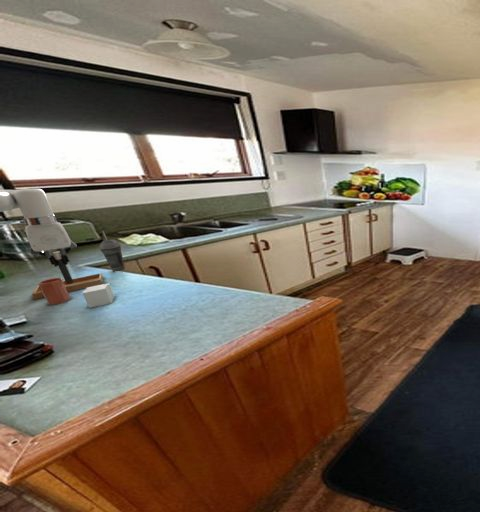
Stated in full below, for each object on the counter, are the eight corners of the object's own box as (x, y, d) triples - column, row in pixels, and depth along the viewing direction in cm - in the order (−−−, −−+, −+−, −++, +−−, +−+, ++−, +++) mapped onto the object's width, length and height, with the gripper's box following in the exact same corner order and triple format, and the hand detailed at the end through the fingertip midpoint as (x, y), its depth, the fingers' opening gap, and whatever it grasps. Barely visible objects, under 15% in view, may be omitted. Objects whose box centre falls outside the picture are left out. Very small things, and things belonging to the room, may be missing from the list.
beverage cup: (114, 273, 130) (98, 233, 123) (105, 271, 132) (89, 232, 125) (132, 268, 136) (118, 229, 129) (123, 266, 138) (109, 228, 132)
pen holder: (47, 306, 100) (36, 285, 97) (49, 301, 104) (39, 280, 101) (69, 300, 104) (60, 280, 101) (71, 296, 108) (62, 276, 105)
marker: (66, 284, 113) (51, 253, 109) (66, 283, 115) (52, 252, 110) (73, 283, 115) (59, 251, 110) (74, 281, 116) (60, 250, 112)
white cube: (114, 297, 106) (109, 283, 104) (111, 302, 101) (105, 288, 99) (93, 301, 103) (87, 287, 101) (88, 308, 98) (82, 293, 96)
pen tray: (34, 299, 106) (31, 294, 105) (39, 291, 113) (36, 286, 112) (102, 284, 118) (100, 279, 117) (103, 277, 125) (101, 273, 124)
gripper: (6, 226, 98) (29, 272, 104) (70, 219, 108) (88, 261, 115) (11, 223, 103) (33, 267, 109) (72, 216, 114) (89, 257, 120)
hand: (61, 264), depth 112 cm, fingers closed on marker, 2 cm apart
